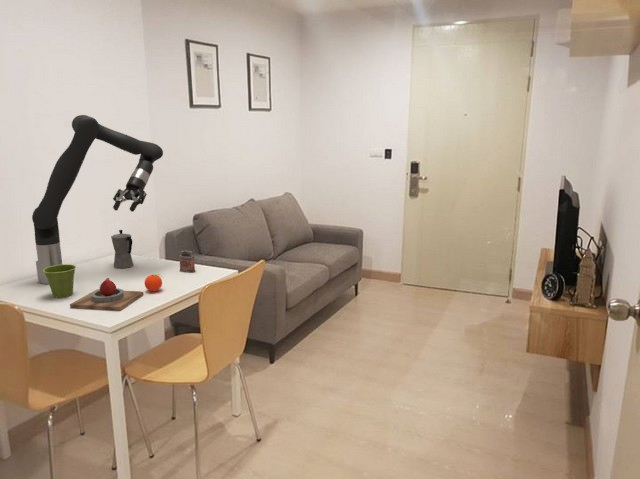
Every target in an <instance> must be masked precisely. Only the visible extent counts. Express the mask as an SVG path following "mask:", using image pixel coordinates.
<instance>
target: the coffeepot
mask: <svg viewBox="0 0 640 479" xmlns="http://www.w3.org/2000/svg"><path fill="white" fill-rule="evenodd" d="M110 237H111V242H112V245H113V249H114V258H113V259H114V260H113V261H114V262H113V268H114V269H117V270H118V269H122V270H123V269H130V268H132V267H133V266H134V262H133V258H132V249H133V248H132V247H133V239H132V235H131V234H129V233H123V230H122V229H119V230H118V233H117V234H112V235H111V236H110Z"/></svg>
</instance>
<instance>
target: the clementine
mask: <svg viewBox="0 0 640 479" xmlns="http://www.w3.org/2000/svg"><path fill="white" fill-rule="evenodd" d="M162 278H163V279H164V277H162ZM162 278H161V277H160V275H159V274H157V273H155V274H149V275H148V276H147V277H146V278H145V280H144V286H145V288H146V290H148V291H149V292H158V291H159V290H160V289H161V288H162V286H163V281H162Z"/></svg>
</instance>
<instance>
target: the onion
mask: <svg viewBox="0 0 640 479" xmlns="http://www.w3.org/2000/svg"><path fill="white" fill-rule="evenodd" d="M116 288H117V284H116V283H114V281H112V280H110V278H109V277H106V278H105V280H104V281H102V282H101V283H100V285H99V289H100V292H101V294H102V295H104V296H106V297H107V296H112V295H113V294H114V293H115V291H116Z"/></svg>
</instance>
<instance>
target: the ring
mask: <svg viewBox="0 0 640 479" xmlns="http://www.w3.org/2000/svg"><path fill="white" fill-rule="evenodd" d="M96 290H97V289H96ZM94 291H95V290H94ZM123 291H124V289H121V288H119V287H116V291H115V293H114V294H116V295H113V296H107V297H98V296H101V295H102V294H101V292H100V290H97V291H95V292H93V291H92V292H93V293H92V294H91V298H92V301H94V302H96V303H107V302H114V301H117V300H120V299H122V298H123V297H124V294H123Z"/></svg>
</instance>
